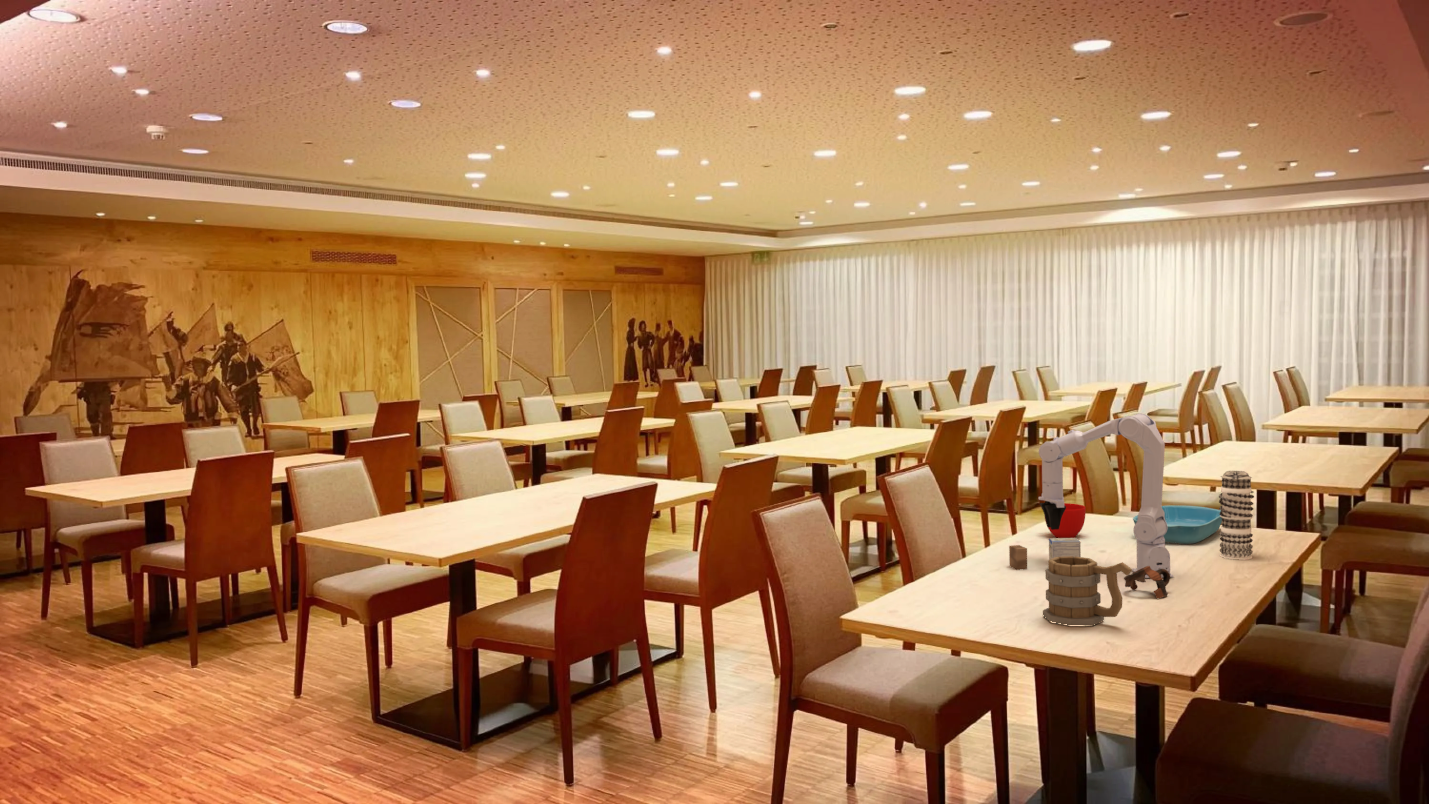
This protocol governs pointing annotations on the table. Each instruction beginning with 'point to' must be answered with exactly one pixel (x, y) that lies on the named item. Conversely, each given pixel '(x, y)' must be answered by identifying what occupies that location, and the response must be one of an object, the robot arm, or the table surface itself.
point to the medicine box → (1064, 547)
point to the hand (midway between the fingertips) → (1053, 528)
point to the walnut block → (1018, 557)
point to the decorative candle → (1236, 515)
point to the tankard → (1080, 590)
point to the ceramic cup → (1070, 521)
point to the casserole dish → (1189, 523)
